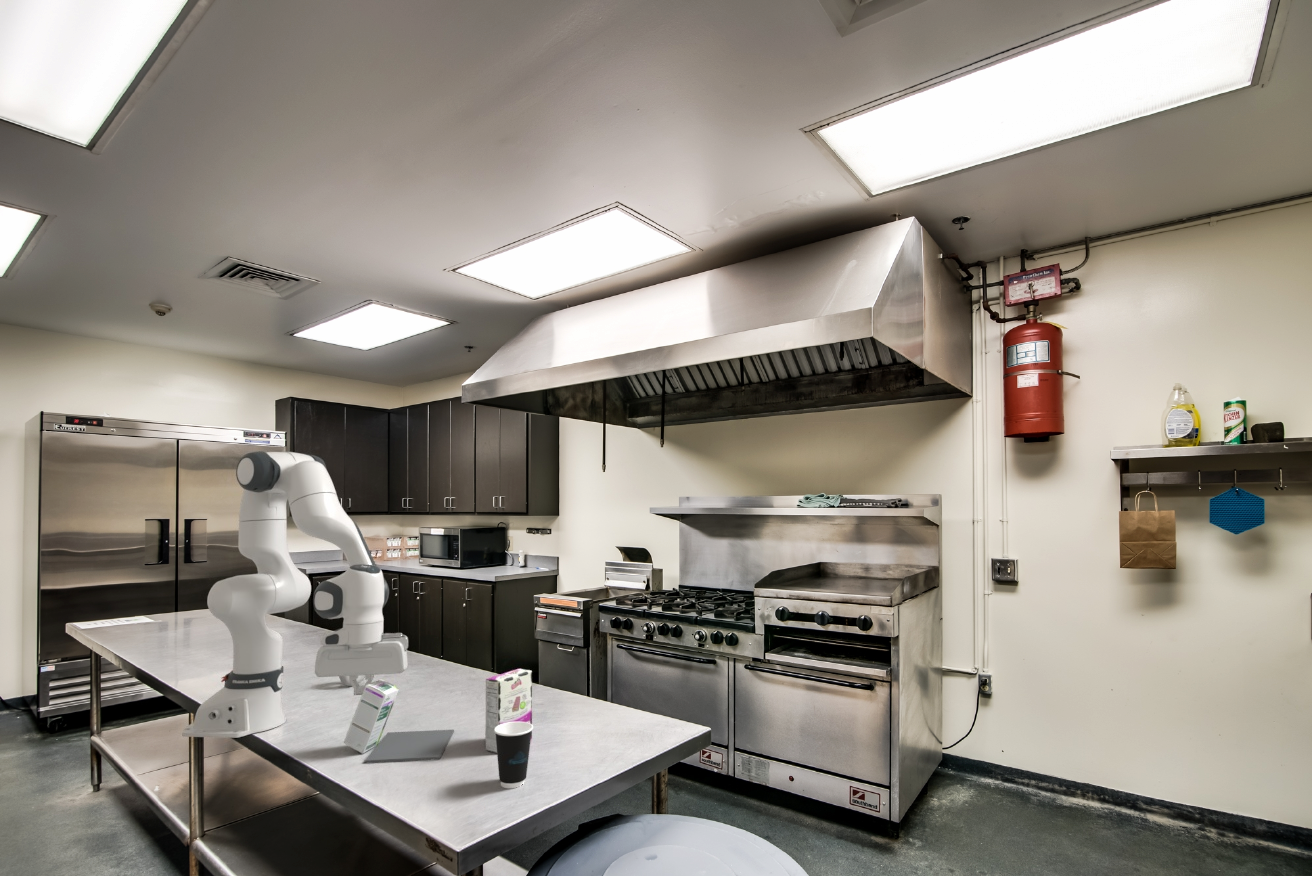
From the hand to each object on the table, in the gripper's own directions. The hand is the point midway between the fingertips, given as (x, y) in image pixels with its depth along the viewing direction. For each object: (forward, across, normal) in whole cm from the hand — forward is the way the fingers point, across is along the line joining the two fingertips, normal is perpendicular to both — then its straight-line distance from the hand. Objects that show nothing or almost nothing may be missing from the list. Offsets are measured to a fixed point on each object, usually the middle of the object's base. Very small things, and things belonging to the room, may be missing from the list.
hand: (361, 694), depth 153 cm
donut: (+12, +20, -57) cm, 62 cm away
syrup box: (+12, 0, 0) cm, 12 cm away
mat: (+13, -12, 0) cm, 17 cm away
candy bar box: (+13, -34, +2) cm, 37 cm away
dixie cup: (+13, -37, +24) cm, 46 cm away
